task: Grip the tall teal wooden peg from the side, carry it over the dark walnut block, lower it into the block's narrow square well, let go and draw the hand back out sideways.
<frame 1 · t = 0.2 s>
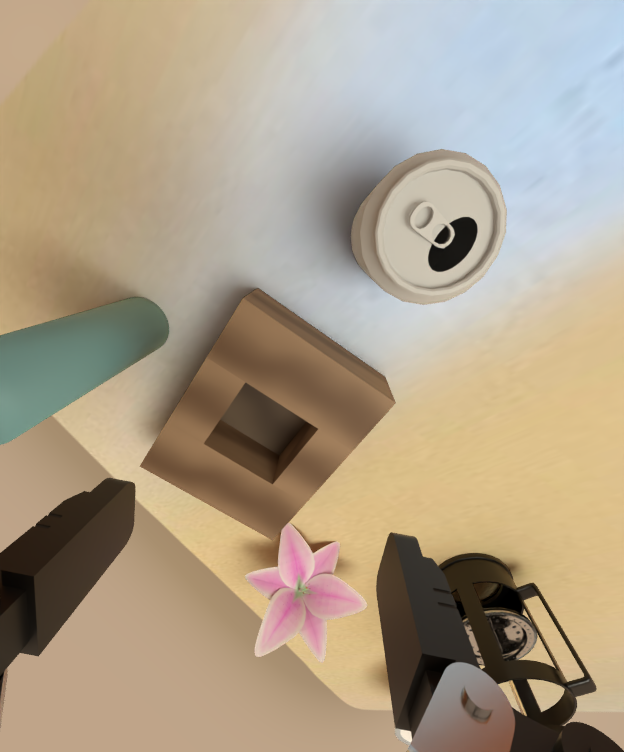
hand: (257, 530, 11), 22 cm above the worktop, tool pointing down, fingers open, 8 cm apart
can: (396, 235, 28), on the worktop
lily: (306, 552, 41), on the worktop
french press: (473, 579, 41), on the worktop
peg: (141, 325, 31), on the worktop
well block: (270, 406, 34), on the worktop
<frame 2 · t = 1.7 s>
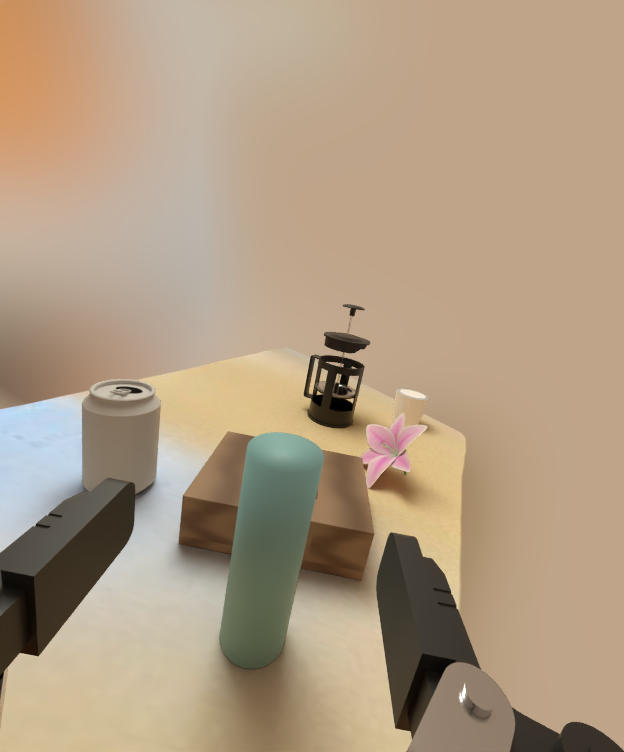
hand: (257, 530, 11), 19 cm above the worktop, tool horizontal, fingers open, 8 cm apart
white cylinder: (404, 423, 75), on the worktop
can: (120, 484, 40), on the worktop
lily: (381, 474, 53), on the worktop
french press: (327, 417, 71), on the worktop
peg: (253, 633, 27), on the worktop
well block: (280, 514, 40), on the worktop
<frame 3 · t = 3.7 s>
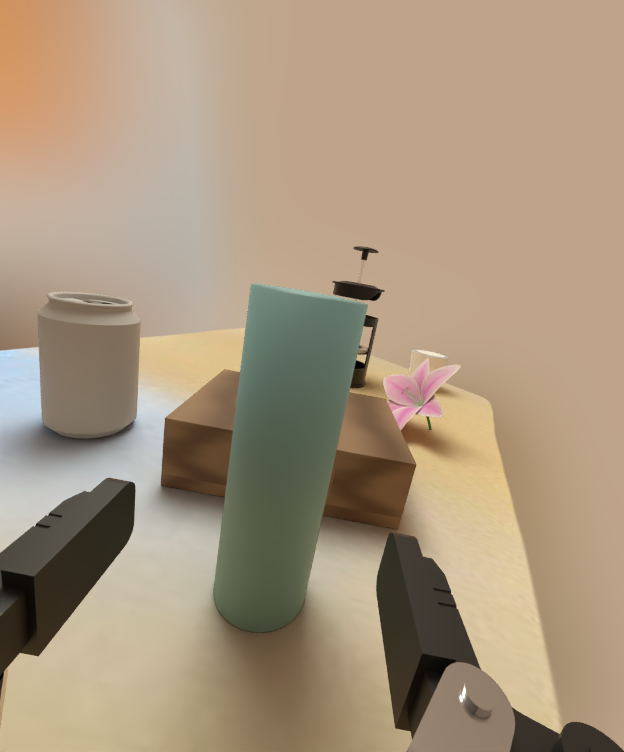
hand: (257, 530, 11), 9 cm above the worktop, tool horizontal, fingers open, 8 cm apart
white cylinder: (420, 388, 68), on the worktop
can: (92, 426, 33), on the worktop
lily: (403, 430, 46), on the worktop
french press: (336, 379, 63), on the worktop
peg: (260, 587, 19), on the worktop
well block: (289, 460, 33), on the worktop
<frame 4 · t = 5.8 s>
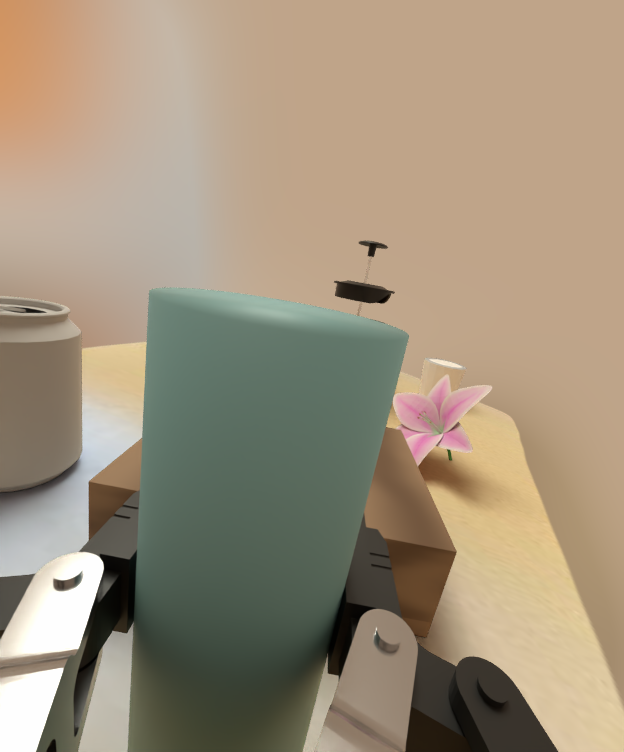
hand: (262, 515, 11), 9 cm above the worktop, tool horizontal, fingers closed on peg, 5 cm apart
white cylinder: (434, 402, 60), on the worktop
can: (20, 470, 25), on the worktop
lily: (418, 461, 38), on the worktop
french press: (338, 393, 56), on the worktop
well block: (277, 516, 25), on the worktop
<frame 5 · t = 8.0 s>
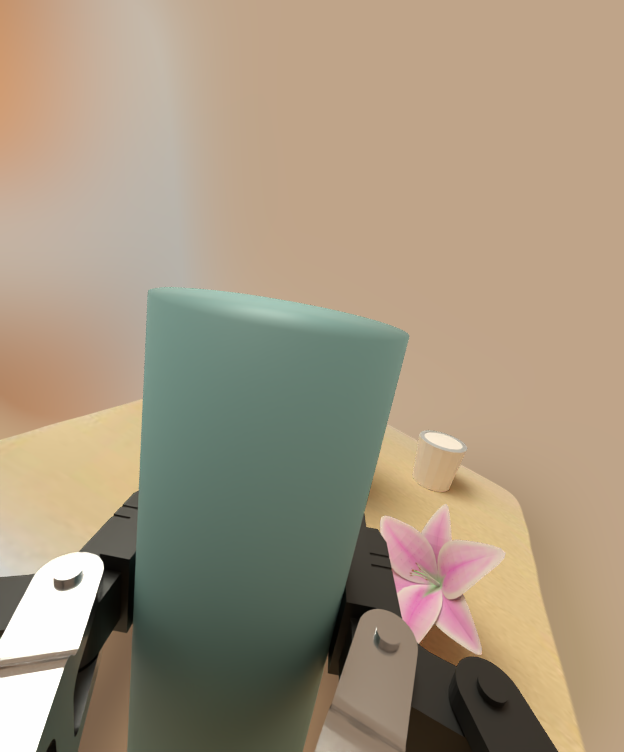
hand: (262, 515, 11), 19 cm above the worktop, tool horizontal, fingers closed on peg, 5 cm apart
white cylinder: (430, 481, 53), on the worktop
lily: (411, 617, 30), on the worktop
when the fingers open (11 cm above the worktop, at t = 10.6 s): peg drops 1 cm, resting on well block.
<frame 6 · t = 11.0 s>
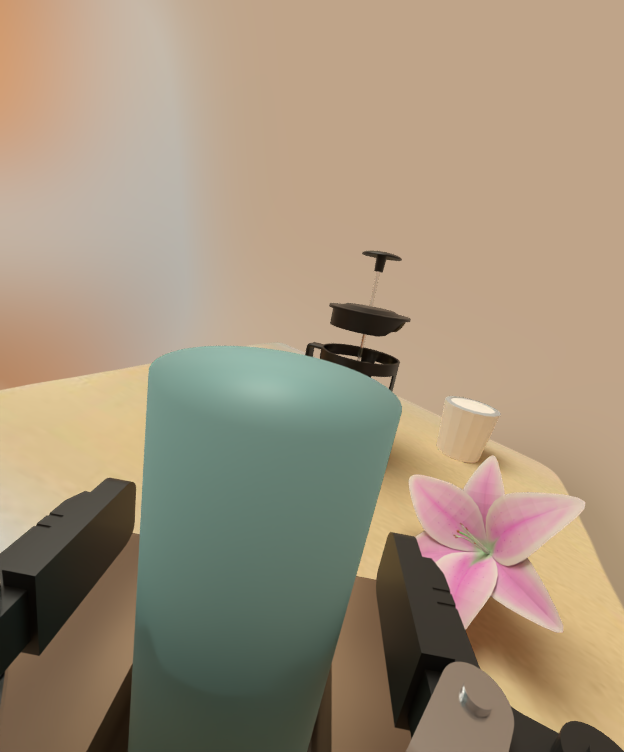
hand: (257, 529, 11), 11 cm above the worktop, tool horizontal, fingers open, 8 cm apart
white cylinder: (456, 453, 47), on the worktop
lily: (452, 593, 24), on the worktop
french press: (335, 446, 43), on the worktop
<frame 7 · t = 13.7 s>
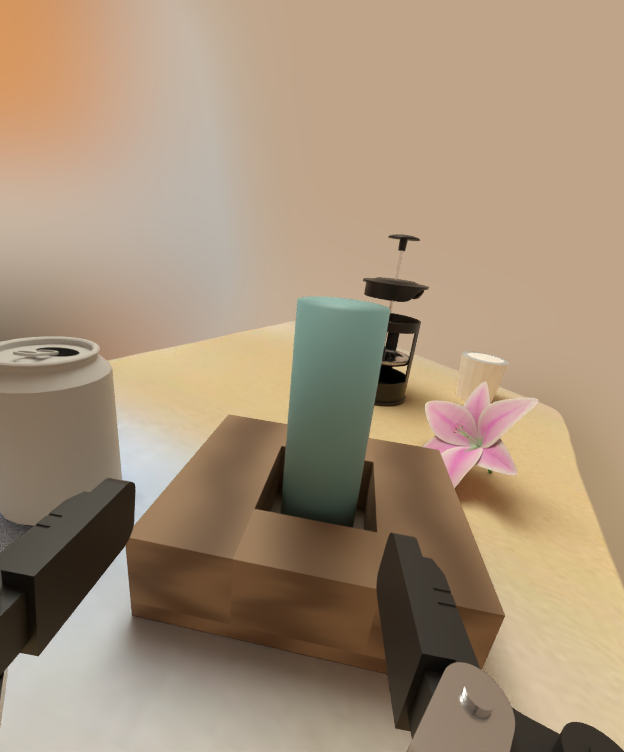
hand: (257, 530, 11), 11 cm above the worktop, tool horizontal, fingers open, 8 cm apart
white cylinder: (473, 398, 57), on the worktop
can: (66, 499, 26), on the worktop
lily: (454, 476, 35), on the worktop
french press: (371, 393, 54), on the worktop
peg: (314, 535, 24), point 1 cm above the worktop, touching well block
well block: (312, 546, 24), on the worktop
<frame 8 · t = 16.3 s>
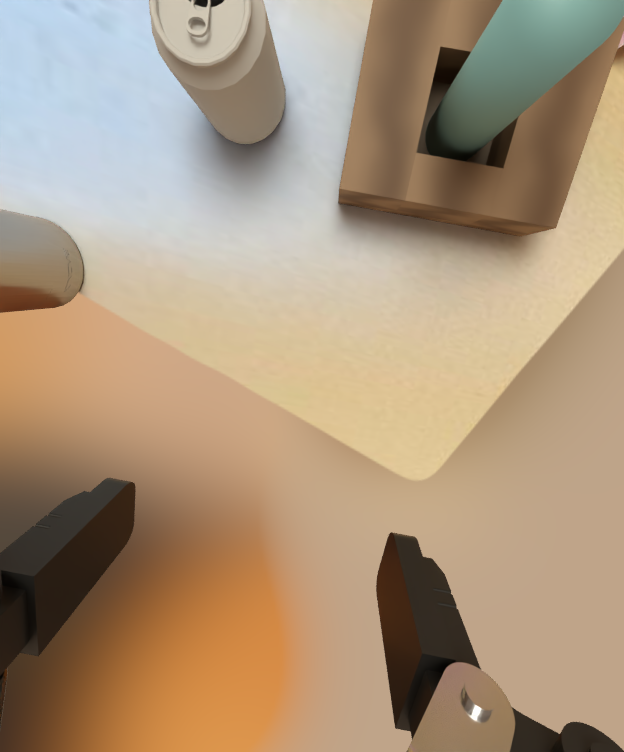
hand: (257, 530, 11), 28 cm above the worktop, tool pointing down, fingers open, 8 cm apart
can: (247, 102, 32), on the worktop
peg: (454, 134, 31), point 1 cm above the worktop, touching well block
well block: (449, 138, 32), on the worktop
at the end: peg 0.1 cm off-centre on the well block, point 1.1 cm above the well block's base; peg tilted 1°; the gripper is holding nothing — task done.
